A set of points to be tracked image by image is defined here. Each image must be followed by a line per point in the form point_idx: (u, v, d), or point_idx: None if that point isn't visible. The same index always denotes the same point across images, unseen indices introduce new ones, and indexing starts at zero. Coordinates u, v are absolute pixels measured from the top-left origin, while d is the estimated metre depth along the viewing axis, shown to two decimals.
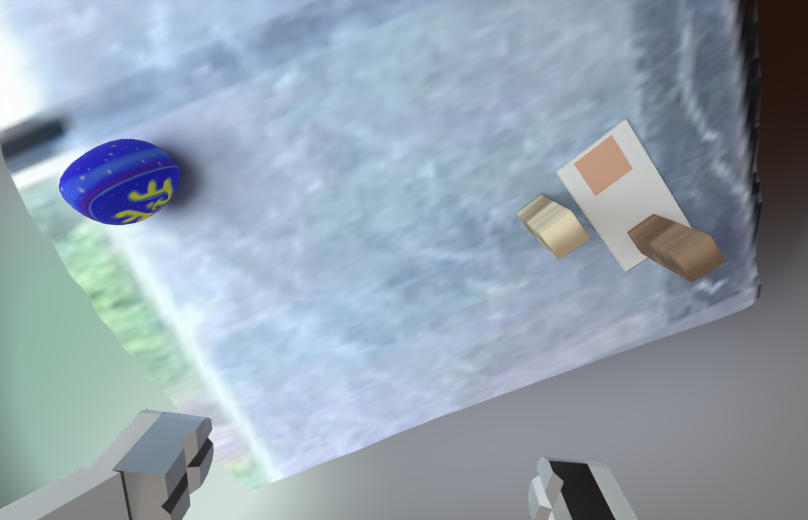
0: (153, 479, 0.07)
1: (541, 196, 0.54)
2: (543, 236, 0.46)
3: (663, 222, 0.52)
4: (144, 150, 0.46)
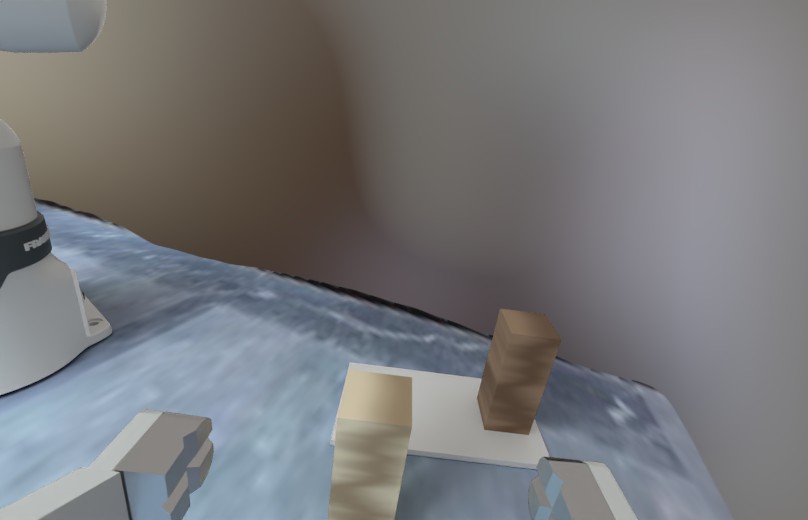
0: (154, 479, 0.07)
1: None
2: (347, 417, 0.22)
3: (484, 377, 0.38)
4: None
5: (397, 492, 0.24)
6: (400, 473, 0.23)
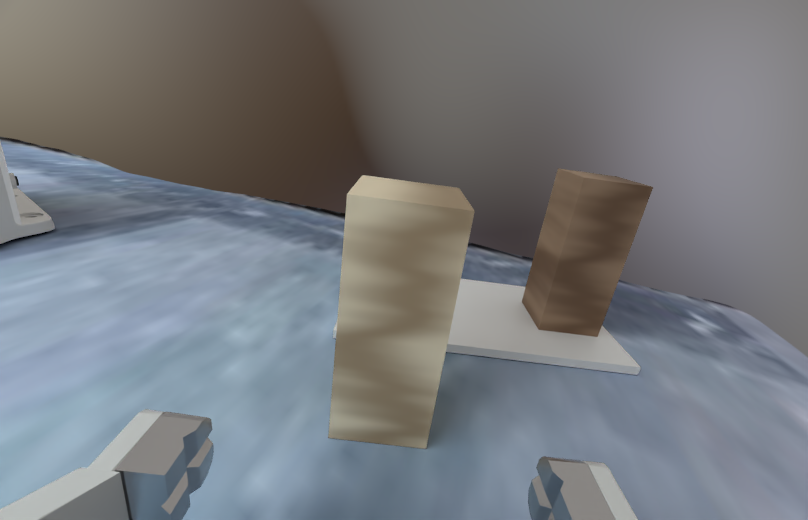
0: (153, 478, 0.07)
1: None
2: (364, 195, 0.13)
3: (534, 268, 0.29)
4: None
5: (443, 346, 0.15)
6: (450, 309, 0.14)
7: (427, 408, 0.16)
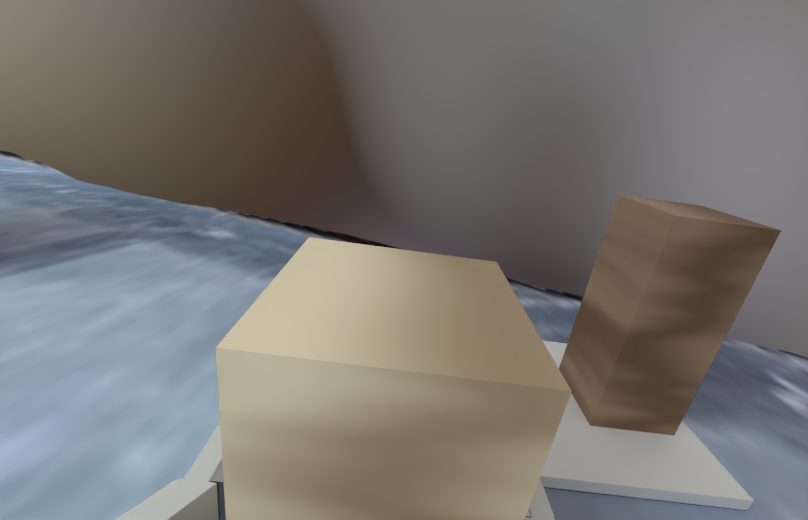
0: None
1: None
2: (267, 347, 0.05)
3: (579, 330, 0.21)
4: None
5: None
6: None
7: None
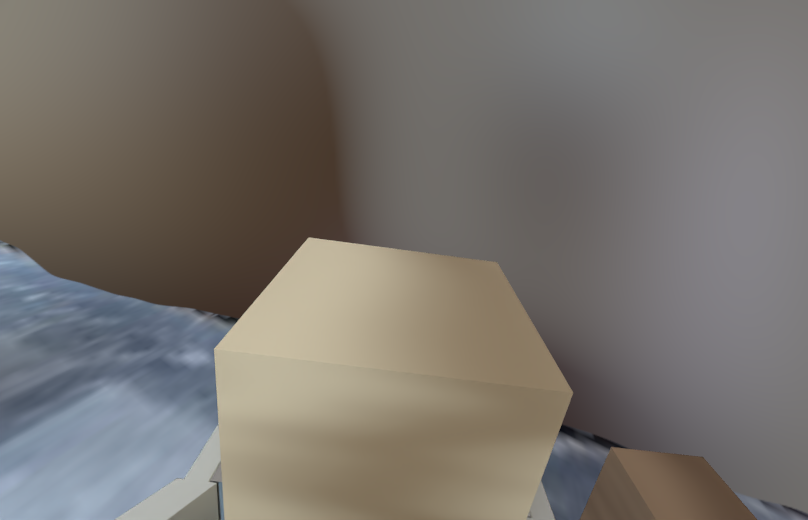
0: None
1: None
2: (266, 348, 0.05)
3: None
4: None
5: None
6: None
7: None
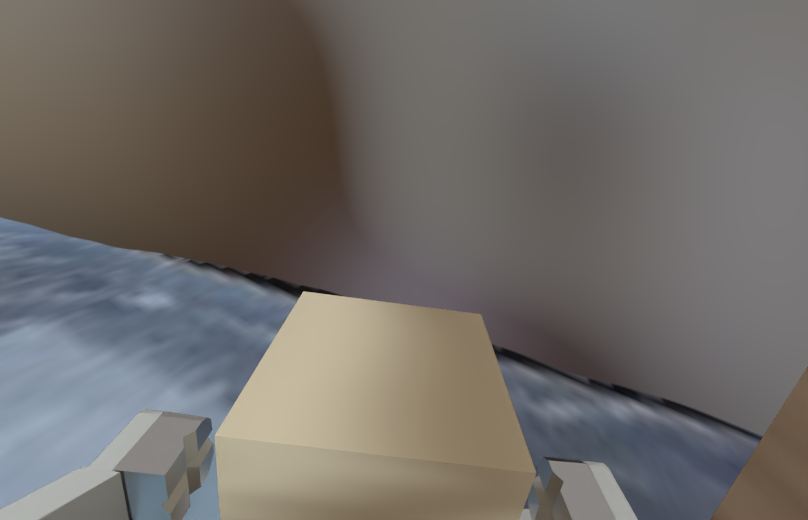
0: (153, 479, 0.07)
1: None
2: (261, 432, 0.05)
3: None
4: None
5: None
6: None
7: None
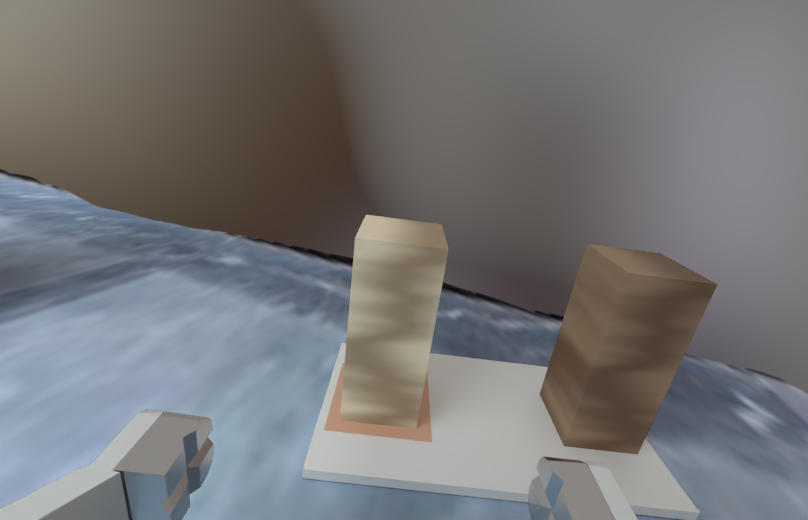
0: (154, 479, 0.07)
1: None
2: (367, 238, 0.18)
3: (556, 360, 0.24)
4: None
5: (428, 349, 0.19)
6: (432, 320, 0.19)
7: (416, 396, 0.21)
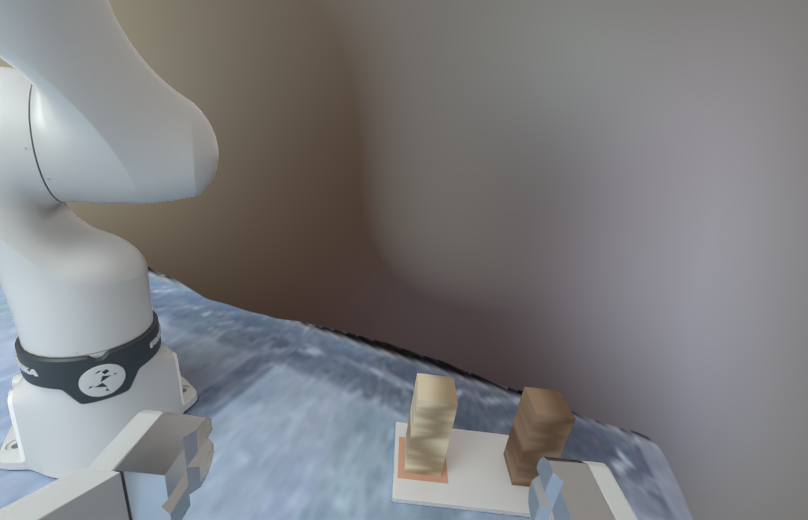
0: (153, 479, 0.07)
1: (405, 437, 0.48)
2: (422, 399, 0.40)
3: (510, 439, 0.47)
4: None
5: (447, 442, 0.42)
6: (450, 431, 0.42)
7: (441, 462, 0.44)
